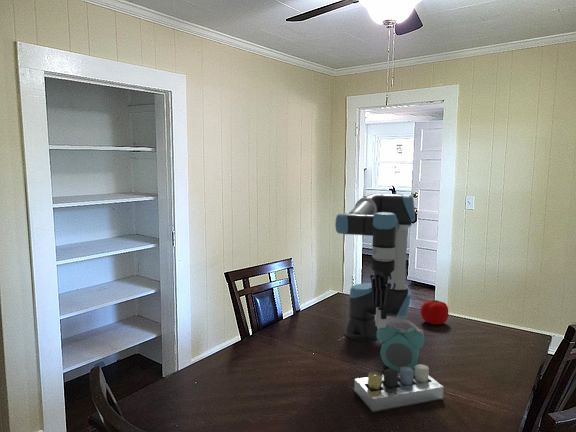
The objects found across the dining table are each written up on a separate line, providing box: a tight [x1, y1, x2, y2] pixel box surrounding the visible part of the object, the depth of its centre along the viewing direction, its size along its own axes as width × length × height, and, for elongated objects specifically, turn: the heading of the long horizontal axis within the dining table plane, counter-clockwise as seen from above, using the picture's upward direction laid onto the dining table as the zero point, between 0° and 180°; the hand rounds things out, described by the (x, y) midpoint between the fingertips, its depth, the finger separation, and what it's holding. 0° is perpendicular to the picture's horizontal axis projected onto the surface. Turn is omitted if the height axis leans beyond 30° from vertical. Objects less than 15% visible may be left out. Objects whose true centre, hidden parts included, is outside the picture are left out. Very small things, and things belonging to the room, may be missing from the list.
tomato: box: [420, 299, 449, 326], centre depth 209 cm, size 12×13×12 cm
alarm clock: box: [377, 317, 425, 372], centre depth 162 cm, size 17×10×20 cm, turn 71°
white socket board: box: [353, 369, 445, 413], centre depth 143 cm, size 13×26×4 cm, turn 107°
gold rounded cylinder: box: [367, 371, 383, 392], centre depth 140 cm, size 4×4×6 cm
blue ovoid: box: [400, 367, 415, 386], centre depth 144 cm, size 4×4×6 cm
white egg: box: [414, 363, 430, 384], centre depth 146 cm, size 4×4×6 cm
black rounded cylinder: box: [383, 368, 398, 389], centre depth 142 cm, size 4×4×6 cm
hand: (380, 326), depth 145 cm, fingers closed
